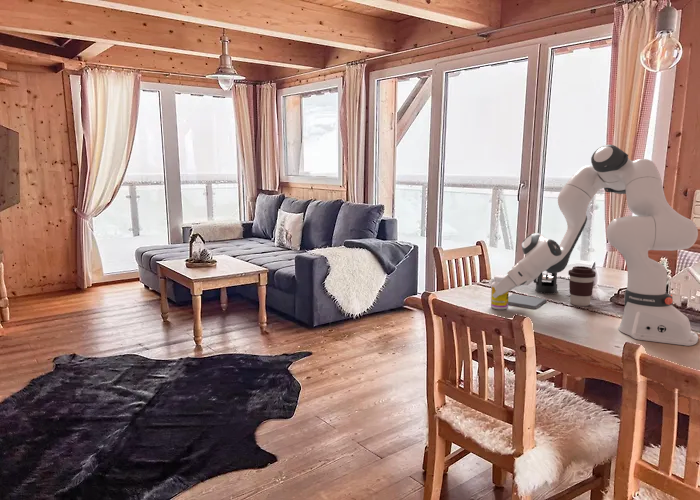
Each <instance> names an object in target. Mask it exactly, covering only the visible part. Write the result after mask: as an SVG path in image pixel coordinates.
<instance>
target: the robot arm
mask: <svg viewBox="0 0 700 500" xmlns="http://www.w3.org/2000/svg"><path fill="white" fill-rule="evenodd" d="M590 163H591V165H585V166H584V165H583V166H582V167H581V168H579V169H578V170H577V171H576V172H575V173H574V174H572V176H571V177H570V178H569V179H568V181H567V182H566V183H565V185H564V186H563V187H562V189H561V190H560V192H559V194H558V197H557V204H558V205H557V206H558V208H559V209H560V212H561V213H562V215H563V217H564V219H565V221H566V223H567V225H566V226H567V229H566V232H565V233H564V236H563V237H562V240H561V242H560V243H559V244H558V242H556V241H555V240H553V239H550V238H547V237H546V236H545V235H543V234H541V233H539V232H535V233H531V234H529V235H528V236H527V237H525V238H524V240H523V241H522V243H521V250H522V253H523V254H524V257H523V258H522V259H520V260H519V261H518V262H517V263H516V264H515V265H513V266H512V267H511V269H510V270H509V271H507V273H506V274H507V275H505V276H506V277H504V278H503V279H502V280H501V281H500V282H499V283H498V285H497V286H496V287H495V290H496V292H495V293H494V294H493V295H492V296H493V297H494V298H497V297H498V296H499V295H502V294H504V293H506V292H508V291H509V292H510V291H512V290H513V289H515V288H517V287H520V286H524V285H525V286H528V285H530V284H531V283H532V282H534V280H535V279H536V278H537V277H538V276H539V275H540V274H541V273H542V274H543V272H546V273H547V272H548V274H552V273H557V274H558V273H561V272H562V271H564V269H566V268H567V265H568V264H569V261H570V257H571V255H572V252H573V251H574V248H575V246H576V244H577V243H578V241H579V238H580V237H581V236H582V232H583V231H584V228H585V226H586V224H587V221H588V216H587V211H588V207H589V204H590V202H591V201H592V199H593V198H594V197H595V195H596V194H597V193H598V192H599V191H600V190H602V189H604V191H605V192H606V193H613V194H618V195H625V197H626V204H627V208H628V210H630V211H631V213H632V214H634V215H632V216H631V215H628V216H620V217H616V218H614V219H612V220H611V221H610V222H609V223H608V225H607V228H606V238H607V239H606V240H607V241H608V243H609V244H610V246H612V248H615V249H616V250H617V251H618V252H619V253H620V254H621V255H622V257H623V258H624V261H625V263H626V268H627V270H626V271H627V283H626V284H627V285H626V286H627V287H626V289H625V292H624V298H623V299H624V300H623V301H624V302H623V303H624V310H623V315H622V318H621V321H620V324H619V326H618V331H619V332H621V333H623V334H626V335H628V336H630V337H631V338H633V339H635V340H639V341H640V340H641V341H647V342H648V341H649V342H656V343H663V344H672V345H679V346H687V347H688V346H689V347H691V346H694V345H696V344H697V343H699V335H698V333H696V332H694V331H692V326H691V323H690V319H689V318H688V316H686V315H685V314H684V313H682V312H681V310H679V309H678V308H676V307H675V306H674V305H673V301H674V300H673V294H670V293H667V291H666V290H667V280H668V270H667V268H666V267H665V266H664V265H663V264H662V263H660V262H659V261H656V260H655V259H653V258H650V257H649V251H671V252H673V251H680V250H687V249H690V248H691V247H693V246H694V245H695V243H696V242H697V240H698V236H699V230H698V227H697V225H696V224H695V222H694V221H693V220H692V219H690V218H689V217H688V218H687V217H686V216H684V215H682V214H680V213H679V212H677V210H675V209H674V208H673V207H672V206H671V205H670V204H669V202H668V201H667V198H666V195H665V192H664V187H663V182H662V178H661V174H660V172H659V169H658V167H657V166H656V164H655V162H653V161H652V160H650V159H647V158H640V159H636V160H635V159H634V160H631V159H630V158H629V154H628V153H627V152H625V151H623V150H622V149H621V148H619V147H618V146H616V145H613V144H605V145H602V146H600V147H599V148H597V149H596V150H595V151H594V152H593V153H592V155H591V157H590Z"/></svg>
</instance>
